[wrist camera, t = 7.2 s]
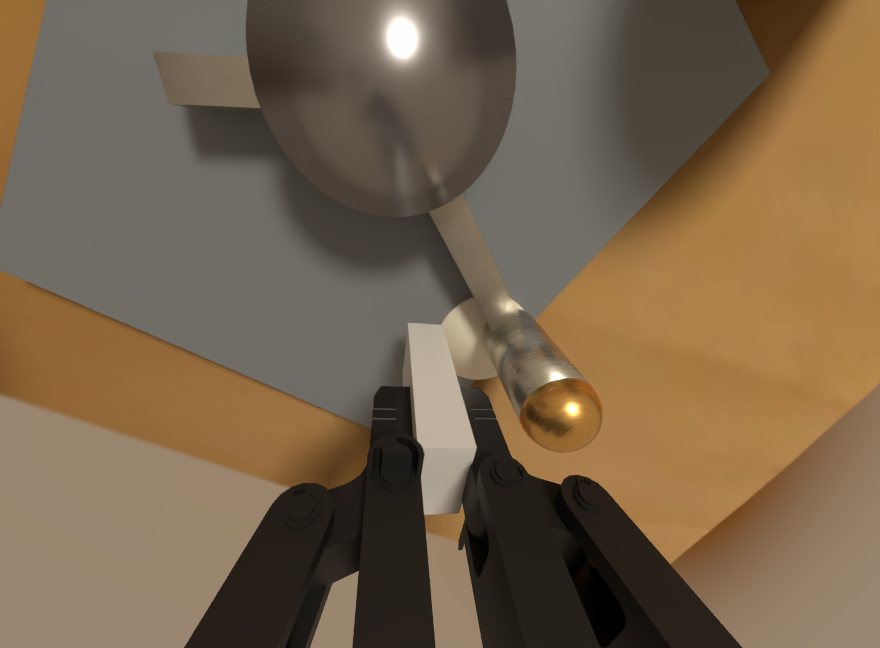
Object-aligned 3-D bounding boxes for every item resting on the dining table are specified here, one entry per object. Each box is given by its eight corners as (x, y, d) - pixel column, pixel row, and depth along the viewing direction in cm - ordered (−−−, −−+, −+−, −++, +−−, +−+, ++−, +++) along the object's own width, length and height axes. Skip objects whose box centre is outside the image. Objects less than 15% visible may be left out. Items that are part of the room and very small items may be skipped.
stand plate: (20, 255, 13) (-22, 267, 12) (289, -777, 6) (258, -1048, 4) (423, 437, 21) (425, 456, 20) (750, 98, 14) (788, 91, 12)
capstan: (167, 75, 10) (-215, -61, 4) (502, -176, 9) (805, -1118, 2) (421, 397, 18) (435, 533, 11) (621, 296, 16) (767, 386, 10)
